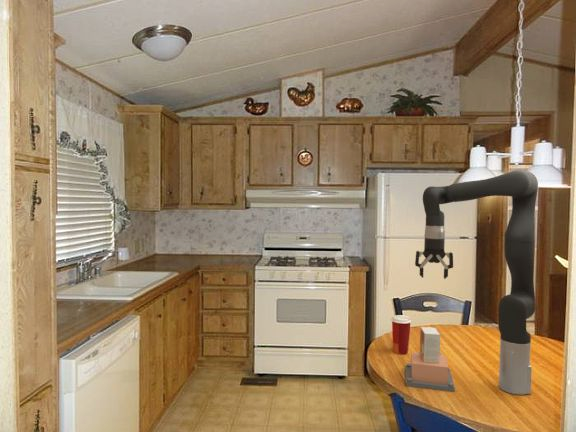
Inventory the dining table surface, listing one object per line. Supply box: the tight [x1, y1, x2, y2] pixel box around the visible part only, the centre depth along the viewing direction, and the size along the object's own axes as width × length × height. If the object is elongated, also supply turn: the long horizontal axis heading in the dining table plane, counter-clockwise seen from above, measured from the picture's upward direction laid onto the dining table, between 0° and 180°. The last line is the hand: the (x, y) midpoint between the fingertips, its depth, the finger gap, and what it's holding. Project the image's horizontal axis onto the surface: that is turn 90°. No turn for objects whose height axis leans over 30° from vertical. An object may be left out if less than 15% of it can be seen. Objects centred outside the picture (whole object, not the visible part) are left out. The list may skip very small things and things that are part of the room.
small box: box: [419, 326, 441, 363], centre depth 157 cm, size 8×6×10 cm
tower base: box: [404, 351, 456, 393], centre depth 158 cm, size 16×16×8 cm
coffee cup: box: [390, 314, 412, 356], centre depth 185 cm, size 8×8×15 cm
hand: (433, 277), depth 173 cm, fingers open, 8 cm apart
